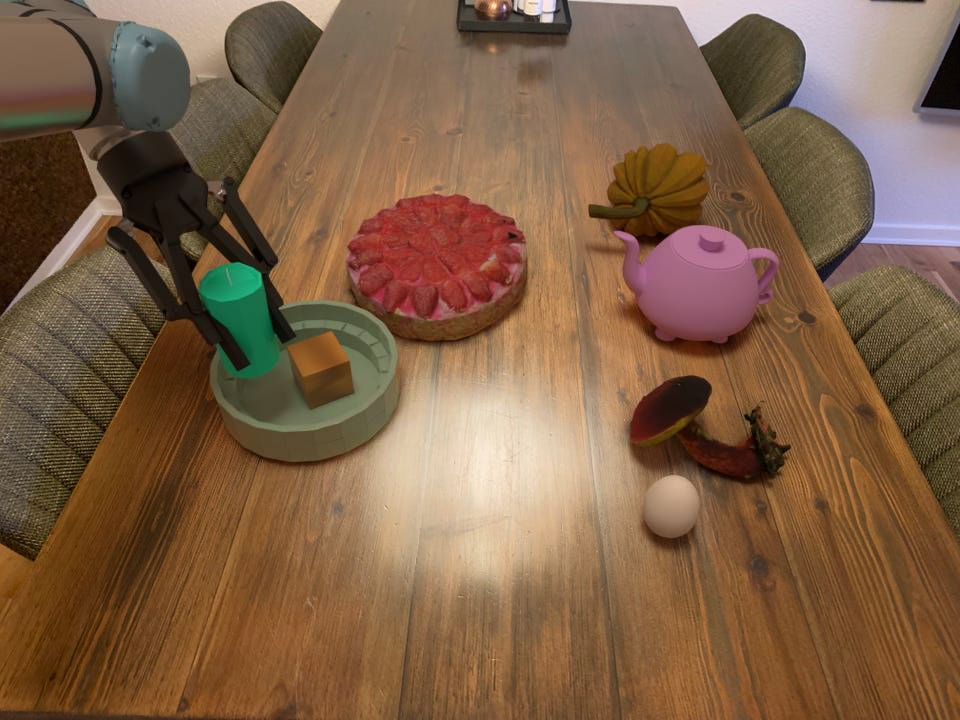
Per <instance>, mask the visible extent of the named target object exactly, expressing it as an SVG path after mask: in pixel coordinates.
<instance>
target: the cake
mask: <svg viewBox="0 0 960 720" xmlns="http://www.w3.org/2000/svg"><path fill="white" fill-rule="evenodd" d="M516 223H517V222H516V219H515V218H514V217H510V216H507V215H505V214H502V213H500V212H498V211H496V210H494V209H493V208H491V207H490V206H488V204H483V203H480V202H476V201H474V200H473V199H471V198H470V197H468V196H466V195H463V194H457V193H454V194H452V195H442V194H438V193H434V192H433V193H430V194H423V195H418V196H413V197H404V198H399V199H398V200H397V202H396V203H395V204H393V205H391V206H389V207H385V208H382V209H381V210H379V211H378V212H377V213H376V214H375V215H374V216H372V217H370V218H367V219H363V220H362V222H361V224H360V227H359V228H358V230H356V232H355V233H354V235H353V236H352V237H351V239H350V241H349V243H347V246H346V251H345V263H346V277H347V280H348V284H349V286H350V290H351V291H352V292H353V293H354V294H353V295H354V296H355V300H356V304H358V306H359V308H361V309H364V310H367V311H368V312H370V313H371V314H372V315H374V316H375V317H377V318H378V319H379V320H381V321H382V322H383V323H384V324H385V325H386V327H387V328H388V330H389V331H390V332H391V333H393V334H395V335H397V336H399V337H401V338H403V339H407V340H409V339H413V340H414V339H419V340H424V341H428V342H439V341H456V340H460V339H463V338H465V337H469V336H472V335H473V334H475V333H478V332H481V330H483V329H484V328H487V327H488V326H490V325H491V324H494V323H495V322H497V321H499V320H500V318H502V317H503V316H504V315H505V314H506V313H507V312H509V311H510V310H511V309H513V307H514V306H515V305H516V304H517V303H518V302H519V301H520V299H521V298H522V296H523V294H524V292H525V288H526V285H527V281H528V276H529V275H528V274H529V273H528V271H529V270H528V269H529V267H528V266H529V263H528V262H529V261H528V259H529V257H528V247H527V240H526V239H527V238H526V236H525V235H524V232H523V231H522V230H520V228H519V227H518V226H517V224H516Z"/></svg>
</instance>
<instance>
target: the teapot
mask: <svg viewBox="0 0 960 720" xmlns="http://www.w3.org/2000/svg"><path fill="white" fill-rule="evenodd" d="M613 234H614V236H616V237H617V238H618V239H619V240H620V241H621V242H622V243H623V245H624V249H625V250H624V257H623V261H622V269H621V270H622V278H623V280H624V283H625V285H626V286H627V288H628V289H629V290H630V292H632V293H633V294H634V299H635V302H636V303H637V306H638V308H639V309H640V310H641V312H642V313H643V315H644V316H645V317H646V318H647V320H648V321H649V322H650V323H651V324H653V325H654V326H655V327H656V329H655V331H654V333H655V336H656V337H657V338H658V339H660V340H661V341H664V342H671V341H674V340H675V339H676V338H678V339H682V340H687V341H694V342H709V341H710V342H713V343H715V344H724V343H726V342H728V339H729V338H728V337H730V336H732V335H735V334H737V333H739V332H740V331H742V330H744V329H745V328H746V327H747V326H748V325H749V324H750V323H751V321H752V320H753V318H754V316H755V313H756V311H757V307H758V306H763V305H766V304H768V303H770V302H771V301H772V300H773V297H774V290H773V288H772V287H771V286H769V285H770V283H771V282H773V280H774V278H775V277H776V275H777V273H778V271H779V269H780V260H779V258H778V256H777V254H776V253H775V252H773V251H772V250H770V249H768V248H767V247H766V248H765V247H753V248H749V249H748V248H747V246H746V244H745V242H743V240H742V239H740V237H738V236H736V235H735V234H734V233H732V232H731V231H728V230H726V229H723V228H721V227H716V226H712V225H704V224H703V225H702V224H697V225H688V226H683V228H682V229H679V230H677V231H676V232H674V233H673V234H669V235H668V236H667V237H665V238H664V239H663V240H662V241H661V242H659V243H658V245H656V246H655V247H653V249H652V250H651V251H650V252H649V254H648V255H647V256H646V257H645V259H644V260H643V262H642V263H641V264H640V263H639V257H640V244H639V242H638V240H637V238H636V237H634V236H632V235H630V234H628V233H626V232H625V231H622V230H614V231H613ZM753 260H766V261H769V262H770V263H769V265H768V267H767V268H766V270H765V272H763V274H762V275H761V276H760V277H759V279H758V275H757V271H756V267H755V264H754V262H753Z"/></svg>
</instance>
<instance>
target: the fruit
mask: <svg viewBox="0 0 960 720" xmlns="http://www.w3.org/2000/svg"><path fill="white" fill-rule="evenodd" d="M708 167H709V165H708V163H707V162H706V160H705V158H704V156H703V155H702V154H698V153H695V152H691V151H684V152H682V153H679V154H678V150H677V147H675V146H673V145H672V144H670V143H669V142H665V143H664V142H663V143H657V144H656V145H654V146H653V147H651V149H648V148H647V146H646V145H645V146H644V145H643V146H638V148H637V150H636V151H634V150H633V149H631V150H629V151H628V152H626V153H625V152H624V159H623V161H622V162H618V163H616V164H615V165H613V167H612V168H613V169H612V172H613V174H614V179H613V180H612V181H611V182H610V184H609V185H608V186H607V188H606V189H607V190H606V195H607V200H608V201H609V203H610V204H612V205H613V206H606V205H601V204H594V203H588V204H587V211H588V216H589V219H599V220H612V223H613V225H614V226H615V227H616V228H623V232H625V233H628V234H630V235H632V236H634V237H635V238H636V237H640V236H642V235H645V236H647V237H656V236H657V235H658V234H659V233H661V234H663V235H671V234H673V233H674V232H676V231H677V230H679V229H682V228H684V227H688V226H691V225H692V224H694V223H696V222H698V221H699V220H701V218H702V214H703V209H704V207H703V205H702V203H703V202H704V201H705V200H706V198H707V196H708V194H709V191H710V188H709V184H708V181H707V178H706V177H704V176H703V175H705V172H706V171H707V170H708Z"/></svg>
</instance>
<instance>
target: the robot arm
mask: <svg viewBox="0 0 960 720" xmlns="http://www.w3.org/2000/svg"><path fill="white" fill-rule="evenodd" d="M189 64H190V63H189V62H188V58H187V56H186V54H185V52H184V50H183V48H182V47H181V45H180V43H179V42H178V41H177V40H176V39H175V38H174V37H173V36H172V35H170V34H169V33H168V32H166V31H164V30H162V29H160V28H157V27H152V26H147V25H142V24H138V23H137V22H135V21H133V20H122V21H120V20H114V19H106V18H101V17H98V16H97V15H96V14H95V12H94V11H93V10H91V8H90V7H89V5H88V3H86V1H85V0H0V144H1V143H6V142H12V141H18V140H25V139H31V138H36V137H37V138H38V137H43V136H49V135H55V134H61V133H66V132H71V133H72V134H73V135H74V137H75V139H76V140H77V142H78V143H79V145H80V147H81V148H82V149H83V151H84V152H85V154H86V156H87V158H89V160H91V161H94V162H96V171H97V172H98V173H99V175H100V176H101V179H102V180H103V181H104V183H105V184H106V186H107V187H108V189H109V190H110V191H111V193H112V194H113V196H114V197H115V199H116V201H117V202H118V203H119V205H120V208H121V216H122V218H121V220H120V221H119V222H118V223H117V224H116V225H113V226H110V227H109V228H108V229H107V231H106V235H105V236H104V241H105V243H106V244H107V246H109V247H110V248H112V249H113V250H114V251H115V252H117V253H118V254H119V255H121V256H122V257H123V258H124V260H125V261H126V263H127V264H128V266H129V267H130V268H131V270H132V271H133V273H134V275H135V276H136V277H137V279H138V281H139V282H140V283H141V285H142V287H143V288H144V289H145V290H146V292H147V294H148V295H149V296H150V298H151V299H152V301H153V302H154V304H155V305H156V307H157V308H158V310H159V311H160V313H161V314H162V316H163V317H164V318H165V320H166V321H167V322H168V323H169V322H170V323H174V322H176V321H177V322H178V321H183V320H186V321H187V320H188V321H190V322H191V323H192V325H194V327H195V329H196V330H197V331H198V333H199V334H200V335H201V337H202V339H203V340H204V342H205V344H207V345H208V346H209V347H214V346H216V344H218V343H219V345H220V346H221V348H222V349H223V351H224V352H225V354H226V355H227V357H228V358H229V360H230V361H231V363H232V364H233V366H234V367H235V369H236V370H237V372H238V371H240V370H242V369H244V368H246V367H247V366H249V365H251V363H250V361H249V360H248V358H247V357H246V355H245V354H244V352H243V351H242V349H241V348H240V346H239V345H238V343H237V342H236V340H235V339H234V337H233V336H232V334H231V333H230V331H229V330H228V328H227V327H225V326H224V325H223V324H222V323H220V322H219V321H218V320H217V319H215V318H214V317H213V316H212V315H211V313H210V312H209V310H207V311H206V312H205V310H204V307H203V304H202V301H201V298H200V295H199V292H198V290H199V289H198V287H197V285H196V282H195V280H194V276H193V274H192V271H191V269H190V266H189V263H188V260H187V258H186V255H185V253H184V249H183V247H182V240H181V237H182V236H183V235H184V234H187V233H193V232H196V233H197V234H198V235H199V236H200V237H202V238H204V239H206V240H207V242H208V243H209V244H210V245H212V246H213V248H215V249H216V250H217V251H218V252H219V253H220V254H221V255H222V256H223V257H224V258H225V259H226V260H227V261H228V262H229V264H230V263H236V262H239V263H242V264H244V265H247V266H250V267H252V268H254V269H255V270H257V271H258V272H260V273H261V276H262V280H263V284H264V288H265V292H266V299H267V305H268V309H269V313H270V317H271V321H272V325H273V329H274V332H275V334H276V335H277V337H278V338H279V340H280V341H281V343H282V344H284V343H286V342H288V341H290V340H291V339H293V338H295V337H296V334H295V333H294V331H293V330H292V328H291V327H290V325H289V323H288V322H287V320H286V319H285V317H284V316H283V314H282V313H281V311H280V310H279V308H280V307H281V306H283V305H284V304H285V303H284V299H283V298H282V296H281V294H280V292H279V291H278V290H277V288H276V286H275V285H274V283H273V282H272V280H271V278H270V273H271V271H273V269H274V268H275V266H276V265H277V264H278V263H279V257H278V255H277V254H276V253H275V251H274V249H273V248H272V246H271V244H270V243H269V241H268V240H267V238H266V236H265V235H264V234H263V232H262V230H261V229H260V227H259V225H258V224H257V223H256V221H255V220H254V218H253V217H252V215H251V214H250V213H251V212H249V210H248V209H247V207H246V205H245V204H244V202H243V201H242V199H241V198H240V194H239V191H238V186H237V181H236V180H235V178H234V177H232V176H229V175H228V176H227V175H226V176H225V177H224V178H223V179H221V180H206V179H205V178H204V177H203V176H201V175H200V174H198V173H197V172H196V171H194V169H193V167H192V166H191V164H190V162H189V160H188V159H187V157H186V155H185V154H184V153H183V151H182V149H181V148H180V146H179V145H178V143H177V141H176V140H175V139H174V137H173V136H172V134H171V132H169V131H168V130H171V129H173V128H174V127H175V126H177V124H178V123H180V122H181V121H182V119H183V117H184V116H185V115H186V112H187V111H188V107H189V104H190V100H191V95H192V85H191V68H190V65H189ZM209 195H210V196H212V198H213V200H214V201H215V202H216V204H217V203H218V204H220V205H221V207H222V209H223V212H224V213H225V215H226V217H227V218H228V220H229V221H230V223H231V224H232V226H233V227H234V229H235V231H236V232H237V234H238V235H239V237H240V239H241V240H242V241H243V243H244V245H245V246H246V247H247V249H248V250H247V249H246V248H245V247H244V246H243V245H242V244H241V243H240V242H239V241H238V239H236V238H235V237H234V236H233V235H232V234H231V233H230V232H229V231H228V230H226V228H225V227H224V226H223V225H222V224H221V223H220V221H219V219H218V218H217V216H215V214H213V212H211V210H209V209H208V202H209V201H208V199H209ZM134 229H137V230H139V231H141V232H143V233H145V234H148V235H150V236H152V237H154V238H155V239H156V241H157V243H158V247H159V249H160V252H161V253H162V255H163V256H164V260H165V262H166V265H167V267H168V271H169V273H170V275H171V279H172V281H173V284H174V286H175V290H176V292H177V296H178V297H179V300H180V303H181V304H180V303H179V302H178V299H176V297H175V296H174V293H173V292H172V290H171V289H170V288H169V286H168V285H167V284H166V282H165V280H164V279H163V277H162V276H161V275H160V273H159V272H158V270H157V269H156V267H155V266H154V264H153V262H152V261H151V260H150V258H149V256H148V255H147V254H146V252H145V251H144V249H143V248H142V247H141V245H140V243H138V242H137V239H138V236H137V233H136V232H135V231H134Z"/></svg>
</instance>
